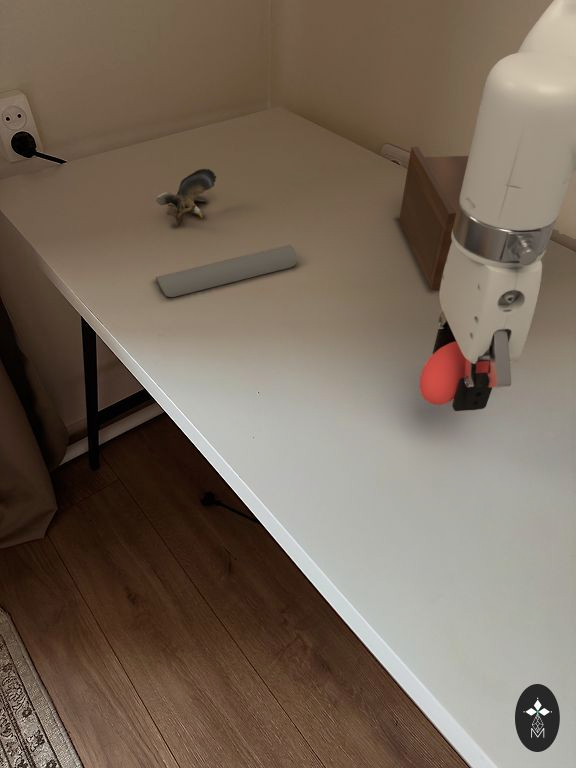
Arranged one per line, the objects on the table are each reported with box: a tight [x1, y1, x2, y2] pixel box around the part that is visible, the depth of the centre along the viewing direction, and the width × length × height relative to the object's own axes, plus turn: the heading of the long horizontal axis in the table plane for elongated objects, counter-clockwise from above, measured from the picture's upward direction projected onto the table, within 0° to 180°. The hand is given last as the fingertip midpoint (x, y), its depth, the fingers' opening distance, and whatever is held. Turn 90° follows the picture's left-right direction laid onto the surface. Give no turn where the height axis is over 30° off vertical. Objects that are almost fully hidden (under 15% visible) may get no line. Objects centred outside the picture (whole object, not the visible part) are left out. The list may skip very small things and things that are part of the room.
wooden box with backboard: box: [398, 146, 469, 291], centre depth 88 cm, size 12×18×12 cm, turn 7°
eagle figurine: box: [155, 168, 217, 228], centre depth 96 cm, size 8×7×9 cm
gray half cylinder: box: [155, 244, 298, 298], centre depth 86 cm, size 4×20×2 cm, turn 115°
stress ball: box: [419, 341, 489, 406], centre depth 63 cm, size 5×9×6 cm
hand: (457, 381), depth 64 cm, fingers closed on stress ball, 6 cm apart
